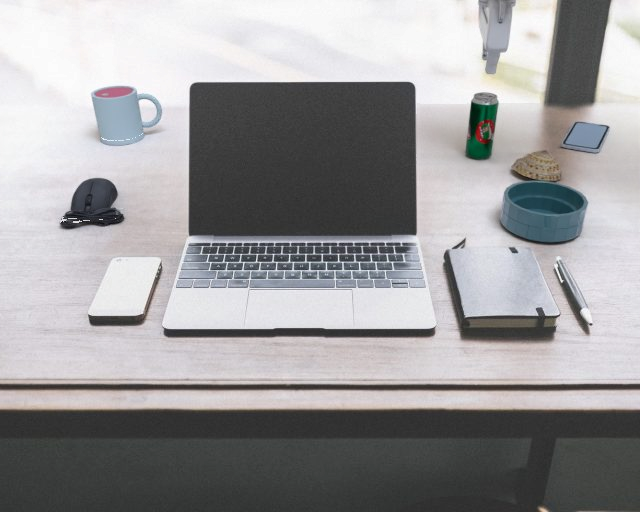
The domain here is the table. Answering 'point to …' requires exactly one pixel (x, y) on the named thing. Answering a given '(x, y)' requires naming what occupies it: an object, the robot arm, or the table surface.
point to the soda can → (481, 125)
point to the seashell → (538, 166)
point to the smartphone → (586, 136)
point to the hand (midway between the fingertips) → (488, 66)
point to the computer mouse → (94, 203)
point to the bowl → (543, 211)
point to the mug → (121, 114)
